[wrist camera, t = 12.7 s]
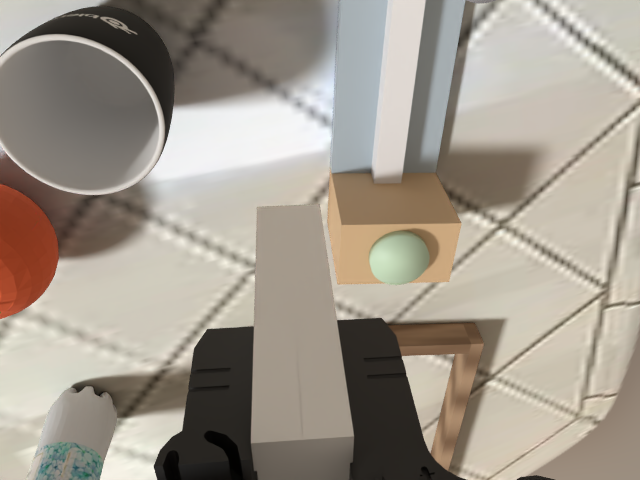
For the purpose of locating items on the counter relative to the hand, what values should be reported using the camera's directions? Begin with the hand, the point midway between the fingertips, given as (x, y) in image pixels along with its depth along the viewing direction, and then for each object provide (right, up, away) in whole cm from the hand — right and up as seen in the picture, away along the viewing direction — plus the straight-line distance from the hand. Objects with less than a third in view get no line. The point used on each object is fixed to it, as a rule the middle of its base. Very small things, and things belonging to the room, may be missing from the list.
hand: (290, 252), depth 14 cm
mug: (-14, +12, +24) cm, 30 cm away
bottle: (-22, -16, +42) cm, 50 cm away
